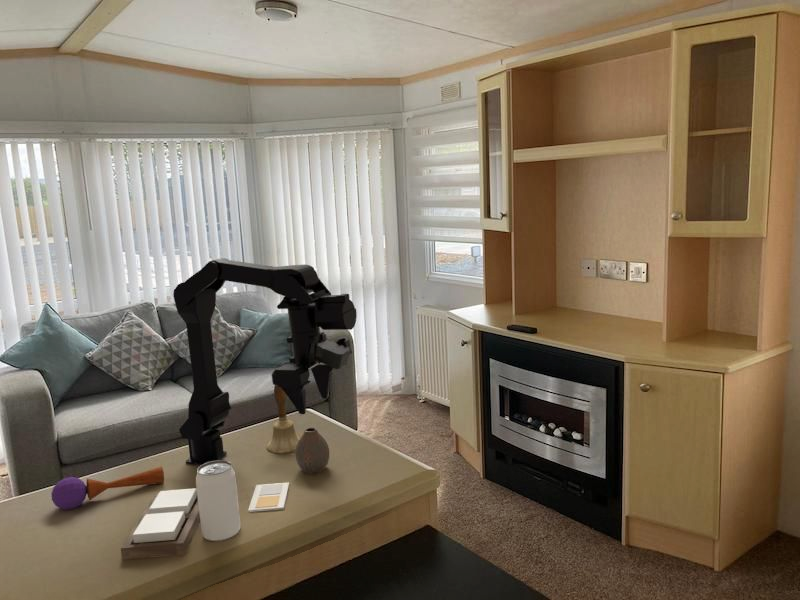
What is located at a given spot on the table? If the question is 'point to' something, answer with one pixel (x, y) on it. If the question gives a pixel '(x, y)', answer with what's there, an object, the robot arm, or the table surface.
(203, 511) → the can
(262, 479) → the table surface
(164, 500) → the inner pad
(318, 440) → the vase
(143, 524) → the outer pad
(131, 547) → the button board
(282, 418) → the hand bell
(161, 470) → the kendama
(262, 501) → the pattern card
